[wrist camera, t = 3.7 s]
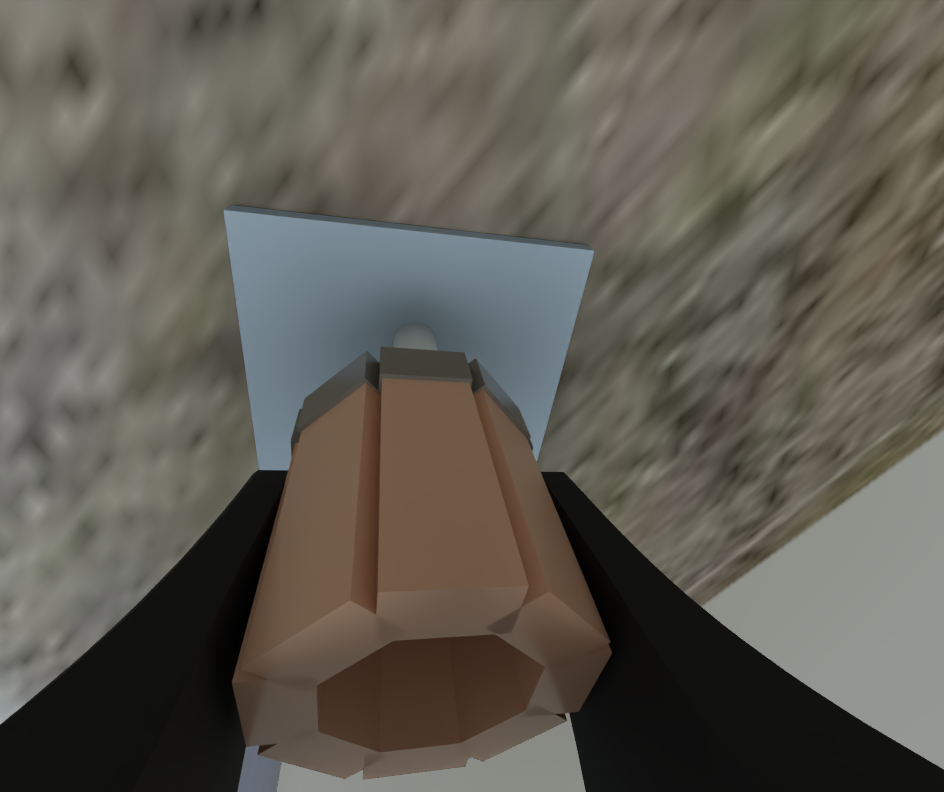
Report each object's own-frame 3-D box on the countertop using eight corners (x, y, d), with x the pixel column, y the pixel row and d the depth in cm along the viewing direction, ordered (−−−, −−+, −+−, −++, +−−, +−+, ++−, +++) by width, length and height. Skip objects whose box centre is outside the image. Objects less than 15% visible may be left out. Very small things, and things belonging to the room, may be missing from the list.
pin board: (508, 541, 25) (527, 615, 21) (275, 546, 23) (252, 630, 19) (586, 245, 17) (638, 283, 13) (231, 205, 14) (177, 239, 11)
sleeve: (495, 517, 14) (557, 757, 9) (304, 519, 12) (250, 795, 8) (536, 357, 11) (663, 575, 6) (296, 340, 10) (201, 593, 5)
